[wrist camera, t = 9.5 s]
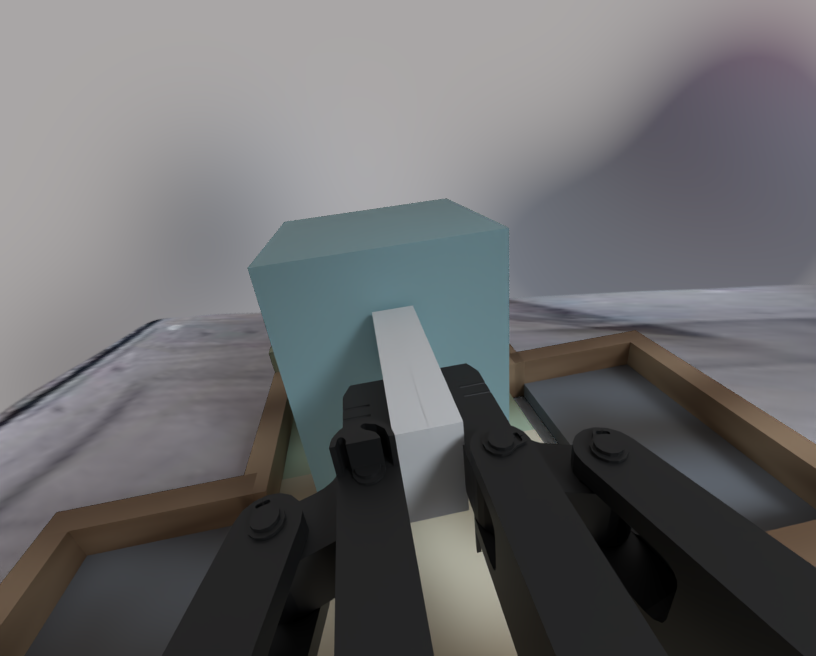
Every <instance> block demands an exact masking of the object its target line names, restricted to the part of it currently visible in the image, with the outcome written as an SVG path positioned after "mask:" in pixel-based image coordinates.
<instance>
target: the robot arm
mask: <svg viewBox="0 0 816 656" xmlns="http://www.w3.org/2000/svg"><path fill="white" fill-rule="evenodd" d="M372 316H373V322H374V328H375V334H376V340H377V346H378V352H379V358H380V364H381V370H382V375H383V380H378V381H372V382H367V383H361V384H356V385H350V386H349V388H348V389H347V391H346V393H345V394H344V396H343V428H342V429H340V430H339V431H338V432H337V433H336V434H335V435H334V437H333V438H332V439H331V442H330V446H329V451H330V454H331V458H332V461H333V465H334V469H335V472H336V477H335V478H334V480H333V481H332V482H331V483H330V484H329V485H327V486H326V487H325V488H323V489H322V490H320V491H318V492H317V493H315V494H313V495H311V496H309V497H307V498H305V499H303V500H301V501H299V500H297V499H296V498H295V497H293V496H292V495H289V494H284V493H277V494H271V495H267V496H265V497H262V498H260V499H258V500H256V501H254V502H253V503H252V504H250V505H249V506H248V507H247V508H245V509H244V510H243V511H242V512H241V514H240V515H239V516H238V518H237V519H236V520H235V522H234V523H233V525H232V527H231V529H230V531H229V532H228V534H227V536H226V538H225V540H224V542H223V543H222V545H221V547H220V549H219V551H218V553H217V555H216V556H215V558H214V560H213V562H212V564H211V566H210V567H209V569H208V571H207V573H206V575H205V577H204V579H203V580H202V582H201V584H200V586H199V588H198V590H197V591H196V593H195V595H194V597H193V599H192V601H191V603H190V604H189V606H188V608H187V610H186V612H185V614H184V615H183V617H182V619H181V621H180V623H179V625H178V627H177V628H176V630H175V632H174V634H173V636H172V638H171V639H170V641H169V643H168V645H167V647H166V649H165V651H164V652H163V654H162V656H317V655H318V650H319V646H320V642H321V638H322V634H323V630H324V626H325V622H326V618H327V614H328V609H329V605H330V601H331V600H333V599H334V598H335V631H334V656H434V652H433V646H432V641H431V635H430V629H429V624H428V618H427V613H426V607H425V602H424V596H423V591H422V585H421V579H420V574H419V568H418V563H417V557H416V552H415V546H414V540H413V535H412V529H411V524H410V523H412V522H417V521H421V520H426V519H431V518H435V517H440V516H445V515H449V514H454V513H458V512H463V511H468V510H469V502H468V498H469V501H470V504H471V507H472V510H473V512H474V521H475V538H476V549H477V553H479V552H483V555H484V558H485V561H486V564H487V567H488V569H489V572H490V575H491V578H492V581H493V584H494V587H495V590H496V593H497V596H498V599H499V602H500V605H501V608H502V611H503V614H504V617H505V620H506V623H507V626H508V629H509V632H510V634H511V637H512V640H513V643H514V646H515V649H516V652H517V655H518V656H816V567H815V566H813V565H812V564H810V563H809V562H807V561H806V560H805V559H803V558H802V557H800V556H799V555H798V554H796V553H795V552H793V551H792V550H790V549H789V548H788V547H786V546H785V545H783V544H782V543H781V542H779V541H778V540H776V539H775V538H773V537H772V536H771V535H769V534H768V533H766V532H765V531H764V530H762V529H761V528H759V527H758V526H756V525H755V524H754V523H752V522H751V521H749V520H748V519H747V518H745V517H744V516H742V515H741V514H739V513H738V512H737V511H735V510H734V509H732V508H731V507H730V506H728V505H727V504H725V503H724V502H722V501H721V500H720V499H718V498H717V497H715V496H714V495H712V494H711V493H710V492H708V491H707V490H705V489H704V488H703V487H701V486H700V485H698V484H697V483H695V482H694V481H693V480H691V479H690V478H688V477H687V476H686V475H684V474H683V473H681V472H680V471H678V470H677V469H676V468H674V467H673V466H671V465H670V464H669V463H667V462H666V461H664V460H663V459H661V458H660V457H659V456H657V455H656V454H654V453H653V452H652V451H650V450H649V449H647V448H646V447H644V446H643V445H642V444H640V443H639V442H637V441H636V440H635V439H633V438H631V437H630V436H628V435H626V434H624V433H622V432H620V431H617V430H613V429H609V428H600V427H593V428H588V429H584V430H582V431H581V432H579V433H578V434H576V435H575V438H574V440H573V443H572V445H563V444H547V443H540V442H536V441H533V440H531V439H530V438H529V436H528V435H527V434H526V433H525V432H524V431H522V430H520V429H518V428H516V427H514V426H511V425H510V423H509V421H508V420H507V418H506V416H505V415H504V413H503V411H502V410H501V408H500V406H499V405H498V403H497V401H496V400H495V398H494V396H493V395H492V393H491V392H490V390H489V388H488V386H487V385H486V384H485V381H484V379H483V378H482V376H481V374H480V373H479V371H478V370H476V369H475V368H473V367H472V366H470V365H468V364H467V363H464V364H459V365H453V366H448V367H442V368H440V367H439V365H438V363H437V360H436V358H435V356H434V353H433V351H432V349H431V346H430V344H429V342H428V339H427V337H426V335H425V332H424V330H423V328H422V326H421V323H420V321H419V319H418V316H417V314H416V312H415V309H414V307H413V305H412V306H406V307H400V308H394V309H388V310H382V311H376V312H372ZM481 549H482V551H481Z"/></svg>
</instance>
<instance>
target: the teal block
mask: <svg viewBox="0 0 816 656" xmlns="http://www.w3.org/2000/svg"><path fill="white" fill-rule="evenodd" d="M248 271H249V274H250V278H251V280H252V284H253V287H254V291H255V294H256V297H257V300H258V303H259V306H260V310H261V313H262V316H263V320H264V323H265V326H266V329H267V332H268V336H269V339H270V342H271V345H272V348H273V352H274V355H275V358H276V361H277V365H278V368H279V371H280V374H281V377H282V381H283V384H284V387H285V390H286V393H287V397H288V400H289V403H290V406H291V410H292V413H293V416H294V419H295V422H296V426H297V429H298V432H299V435H300V439H301V442H302V445H303V448H304V451H305V455H306V458H307V461H308V464H309V467H310V471H311V474H312V477H313V480H314V484H315V487H316V490H317V492H318V491H320V490H322V489H323V488H325V487H326V486H327V485H329V484H330V483H331V482H332V481H333V480H334V478H335V477H336V472H335V469H334V465H333V461H332V458H331V454H330V451H329V446H330V442H331V439H332V438H333V437H334V435H335V434H336V433H337V432H338V431H339V430H340V429H342V428H343V396H344V394H345V393H346V391H347V389H348V388H349V386H350V385H356V384H361V383H367V382H372V381H378V380H383V375H382V370H381V364H380V358H379V352H378V346H377V340H376V334H375V328H374V322H373V316H372V312H376V311H382V310H388V309H394V308H400V307H406V306H412V305H413V307H414V309H415V312H416V314H417V316H418V319H419V321H420V323H421V326H422V328H423V330H424V332H425V335H426V337H427V339H428V342H429V344H430V346H431V349H432V351H433V353H434V356H435V358H436V360H437V363H438V365H439V367H440V368H442V367H448V366H453V365H459V364H464V363H467V364H468V365H470V366H472V367H473V368H475V369H476V370H478V371H479V373H480V374H481V376H482V378H483V379H484V381H485V384H486V385H487V386H488V388H489V390H490V392H491V393H492V395H493V396H494V398H495V400H496V401H497V403H498V405H499V406H500V408H501V410H502V411H503V413H504V415H505V416H506V418H507V420H508V421H509V228H508V227H506V226H504V225H502V224H500V223H498V222H495V221H493V220H491V219H489V218H487V217H485V216H483V215H481V214H479V213H476V212H474V211H472V210H470V209H468V208H465V207H464V206H462V205H459V204H457V203H455V202H453V201H451V200H449V199H439V200H432V201H425V202H418V203H411V204H405V205H398V206H391V207H384V208H377V209H370V210H363V211H356V212H349V213H343V214H336V215H329V216H322V217H315V218H308V219H301V220H294V221H287V222H284V223H283V224H282V226H281V227H280V228H279V229H278V231H277V232H276V233H275V234H274V236H273V237H272V238H271V239H270V241H269V242H268V243H267V245H266V246H265V247H264V248H263V249H262V251H261V252H260V253H259V254H258V256H257V257H256V258H255V259H254V261H253V262H252V263H251V264H250V266H249V267H248Z"/></svg>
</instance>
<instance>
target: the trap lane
mask: <svg viewBox="0 0 816 656" xmlns="http://www.w3.org/2000/svg"><path fill="white" fill-rule="evenodd" d="M269 356H270V359H271V362H272V365H273V368H274V371H275V374H274V377H273V381H272V384H271V387H270V391H269V394H268V397H267V401H266V404H265V407H264V410H263V414H262V417H261V420H260V424H259V427H258V430H257V434H256V437H255V440H254V443H253V447H252V450H251V453H250V457H249V460H248V463H247V467H246V470H245V473H244V475H243V476H238V477H233V478H228V479H223V480H217V481H212V482H207V483H202V484H197V485H192V486H187V487H182V488H177V489H172V490H167V491H162V492H157V493H152V494H147V495H142V496H137V497H132V498H127V499H122V500H117V501H112V502H107V503H101V504H96V505H91V506H86V507H81V508H76V509H71V510H66V511H61V512H56V514H55V515H54V516H53V517H52V519H51V520H50V521H49V523H48V524H47V525H46V526H45V528H44V529H43V530H42V531H41V533H40V534H39V535H38V537H37V538H36V539H35V540H34V542H33V543H32V544H31V546H30V547H29V548H28V549H27V551H26V552H25V553H24V554H23V556H22V557H21V558H20V560H19V561H18V562H17V563H16V565H15V566H14V567H13V569H12V570H11V571H10V572H9V574H8V575H7V576H6V577H5V579H4V580H3V581H2V583H1V584H0V656H162V654H163V652H164V651H165V649H166V647H167V645H168V643H169V641H170V639H171V638H172V636H173V634H174V632H175V630H176V628H177V627H178V625H179V623H180V621H181V619H182V617H183V615H184V614H185V612H186V610H187V608H188V606H189V604H190V603H191V601H192V599H193V597H194V595H195V593H196V591H197V590H198V588H199V586H200V584H201V582H202V580H203V579H204V577H205V575H206V573H207V571H208V569H209V567H210V566H211V564H212V562H213V560H214V558H215V556H216V555H217V553H218V551H219V549H220V547H221V545H222V543H223V542H224V540H225V538H226V536H227V534H228V532H229V531H230V529H231V527H232V525H233V523H234V522H235V520H236V519H237V518H238V516H239V515H240V514H241V512H242V511H243V510H244V509H245V508H247V507H248V506H249V505H250V504H252V503H253V502H254V501H256V500H258V499H260V498H262V497H265V496H267V495H271V494H277V493H284V494H289V495H292V496H293V497H295V498H296V499H297V500H299V501H301V500H303V499H305V498H307V497H309V496H311V495H313V494H315V493H317V490H316V487H315V484H314V480H313V477H312V474H311V471H310V467H309V464H308V461H307V458H306V455H305V451H304V448H303V445H302V442H301V439H300V435H299V432H298V429H297V426H296V422H295V419H294V416H293V413H292V410H291V406H290V403H289V400H288V397H287V393H286V390H285V387H284V384H283V381H282V377H281V374H280V371H279V368H278V365H277V361H276V358H275V355H274V352H273V348H272V345H271V348H270V351H269ZM519 396H524V397H525V398H526V399H527V401H528V402H529V403H530V405H531V406H532V408H533V409H534V410H535V412H536V413H537V415H538V416H539V417H540V419H541V420H542V421H543V423H544V424H545V426H546V427H547V428H548V430H549V431H550V433H551V434H552V435H553V437H554V438H555V439H556V441H557V442H558V444H563V445H572V443H573V440H574V438H575V435H576V434H578V433H579V432H581V431H582V430H584V429H588V428H593V427H600V428H609V429H613V430H617V431H620V432H622V433H624V434H626V435H628V436H630V437H631V438H633V439H635V440H636V441H637V442H639V443H640V444H642V445H643V446H644V447H646V448H647V449H649V450H650V451H652V452H653V453H654V454H656V455H657V456H659V457H660V458H661V459H663V460H664V461H666V462H667V463H669V464H670V465H671V466H673V467H674V468H676V469H677V470H678V471H680V472H681V473H683V474H684V475H686V476H687V477H688V478H690V479H691V480H693V481H694V482H695V483H697V484H698V485H700V486H701V487H703V488H704V489H705V490H707V491H708V492H710V493H711V494H712V495H714V496H715V497H717V498H718V499H720V500H721V501H722V502H724V503H725V504H727V505H728V506H730V507H731V508H732V509H734V510H735V511H737V512H738V513H739V514H741V515H742V516H744V517H745V518H747V519H748V520H749V521H751V522H752V523H754V524H755V525H756V526H758V527H759V528H761V529H762V530H764V531H765V532H766V533H768V534H769V535H771V536H772V537H773V538H775V539H776V540H778V541H779V542H781V543H782V544H783V545H785V546H786V547H788V548H789V549H790V550H792V551H793V552H795V553H796V554H798V555H799V556H800V557H802V558H803V559H805V560H806V561H807V562H809V563H810V564H812V565H813V566H815V567H816V444H815V443H813V442H812V441H810V440H808V439H807V438H805V437H804V436H802V435H800V434H799V433H797V432H796V431H794V430H793V429H791V428H789V427H788V426H786V425H785V424H783V423H781V422H780V421H778V420H777V419H775V418H774V417H772V416H770V415H769V414H767V413H766V412H764V411H762V410H761V409H759V408H758V407H756V406H755V405H753V404H751V403H750V402H748V401H747V400H745V399H743V398H742V397H740V396H739V395H737V394H735V393H734V392H732V391H731V390H729V389H728V388H726V387H724V386H723V385H721V384H720V383H718V382H716V381H715V380H713V379H712V378H710V377H709V376H707V375H705V374H704V373H702V372H701V371H699V370H697V369H696V368H694V367H693V366H691V365H690V364H688V363H686V362H685V361H683V360H682V359H680V358H678V357H677V356H675V355H674V354H672V353H671V352H669V351H667V350H666V349H664V348H663V347H661V346H659V345H658V344H656V343H655V342H653V341H652V340H650V339H648V338H647V337H645V336H644V335H642V334H640V333H639V332H637V331H636V330H635V331H629V332H624V333H619V334H613V335H608V336H602V337H597V338H591V339H586V340H580V341H575V342H569V343H564V344H558V345H553V346H547V347H542V348H536V349H531V350H525V351H520V352H516V351H515V350H514V348H513V347H512V346H511V345H510V344H509V423H510V425H511V426H514V427H516V428H518V429H520V430H522V431H524V432H525V433H526V434H527V435H528V436H529V438H530V439H531V440H533V441H536V442H540V443H544V442H543V441H542V439H541V438H540V436H539V435H538V434H537V432H536V431H535V429H534V428H533V427H532V425H531V424H530V422H529V421H528V419H527V418H526V417H525V415H524V414H523V412H522V411H521V409H520V408H519V406H518V405H517V403H516V402H515V400H514V399H513V398H514V397H519ZM468 502H469V510H468V511H463V512H458V513H454V514H449V515H445V516H440V517H435V518H431V519H426V520H421V521H417V522H412V523H410V524H411V529H412V535H413V540H414V546H415V552H416V557H417V563H418V568H419V574H420V579H421V585H422V591H423V596H424V602H425V607H426V613H427V618H428V624H429V629H430V635H431V641H432V646H433V652H434V656H518V655H517V652H516V649H515V646H514V643H513V640H512V637H511V634H510V632H509V629H508V626H507V623H506V620H505V617H504V614H503V611H502V608H501V605H500V602H499V599H498V596H497V593H496V590H495V587H494V584H493V581H492V578H491V575H490V572H489V569H488V567H487V564H486V561H485V558H484V555H483V552H479V553H477V549H476V538H475V521H474V512H473V510H472V507H471V504H470V501H469V498H468ZM481 551H482V549H481ZM334 631H335V598H334V599H333V600H331V601H330V605H329V609H328V614H327V618H326V622H325V626H324V630H323V634H322V638H321V642H320V646H319V650H318V655H317V656H334Z"/></svg>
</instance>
